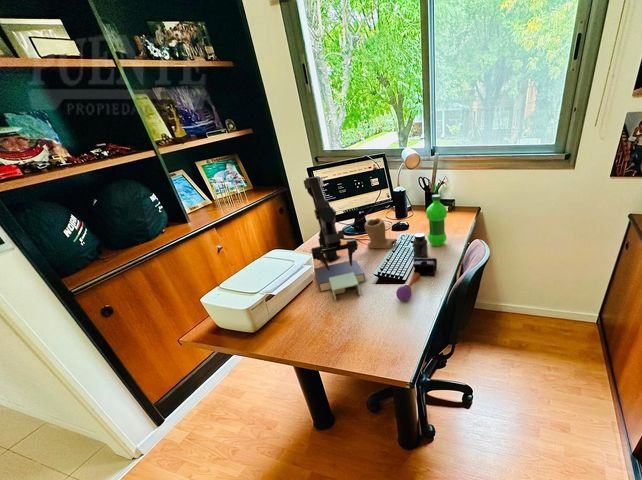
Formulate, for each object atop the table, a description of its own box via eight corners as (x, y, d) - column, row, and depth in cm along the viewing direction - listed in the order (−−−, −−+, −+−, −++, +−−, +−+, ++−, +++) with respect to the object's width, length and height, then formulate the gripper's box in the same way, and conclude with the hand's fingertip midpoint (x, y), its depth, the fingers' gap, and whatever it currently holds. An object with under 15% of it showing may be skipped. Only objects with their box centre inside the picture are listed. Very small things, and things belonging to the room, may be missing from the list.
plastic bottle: (444, 248, 166) (444, 198, 152) (425, 247, 169) (422, 198, 155) (449, 240, 174) (449, 192, 159) (430, 239, 177) (428, 192, 163)
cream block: (331, 280, 137) (333, 286, 134) (341, 278, 138) (343, 284, 135) (333, 288, 140) (335, 294, 137) (343, 286, 141) (345, 292, 138)
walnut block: (342, 278, 138) (344, 284, 135) (352, 276, 139) (354, 281, 136) (343, 286, 141) (346, 291, 138) (353, 283, 142) (355, 289, 139)
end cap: (437, 269, 148) (436, 255, 144) (435, 276, 143) (435, 262, 139) (415, 269, 150) (414, 255, 146) (413, 276, 145) (412, 262, 141)
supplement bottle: (411, 257, 161) (410, 234, 154) (424, 254, 163) (423, 231, 156) (417, 262, 156) (416, 238, 149) (430, 259, 158) (429, 235, 151)
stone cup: (364, 250, 172) (359, 223, 163) (372, 241, 181) (368, 215, 172) (391, 252, 168) (387, 224, 159) (398, 243, 177) (395, 215, 168)
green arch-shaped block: (328, 277, 137) (332, 289, 129) (353, 272, 139) (358, 283, 132) (331, 289, 141) (335, 301, 133) (355, 283, 143) (360, 295, 136)
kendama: (424, 271, 139) (409, 292, 123) (422, 283, 142) (407, 305, 126) (411, 268, 140) (394, 288, 124) (409, 280, 144) (393, 301, 128)
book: (316, 276, 152) (313, 268, 150) (357, 266, 157) (355, 259, 155) (320, 291, 140) (318, 283, 138) (365, 281, 145) (363, 273, 142)
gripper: (305, 229, 125) (316, 266, 123) (352, 220, 129) (363, 255, 127) (308, 241, 136) (318, 275, 133) (351, 232, 140) (361, 265, 138)
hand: (340, 268), depth 133 cm, fingers open, 9 cm apart
